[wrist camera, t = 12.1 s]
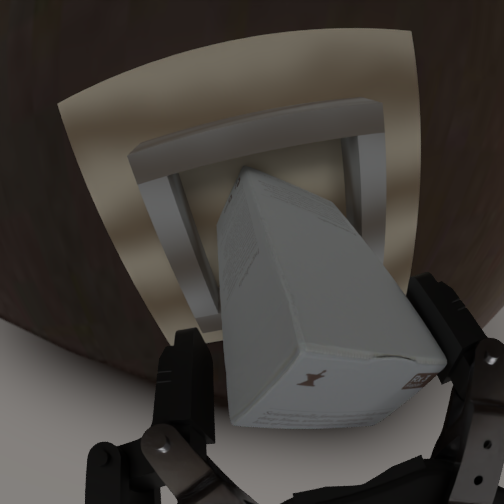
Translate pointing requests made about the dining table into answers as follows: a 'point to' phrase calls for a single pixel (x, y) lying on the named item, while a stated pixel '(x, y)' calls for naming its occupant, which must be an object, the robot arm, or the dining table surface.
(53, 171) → the dining table surface
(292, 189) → the skincare box
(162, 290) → the square frame tray
